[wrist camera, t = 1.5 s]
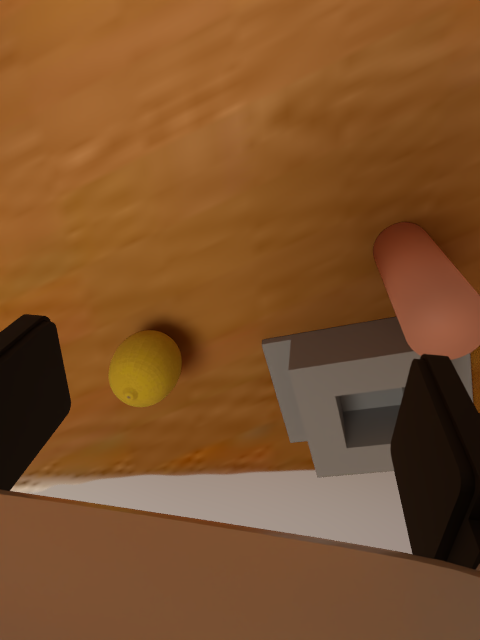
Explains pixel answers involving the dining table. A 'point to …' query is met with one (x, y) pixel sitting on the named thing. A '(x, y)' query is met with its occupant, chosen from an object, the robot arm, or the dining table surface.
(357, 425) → the socket
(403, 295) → the peg
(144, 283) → the dining table surface
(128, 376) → the lemon
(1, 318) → the dining table surface
